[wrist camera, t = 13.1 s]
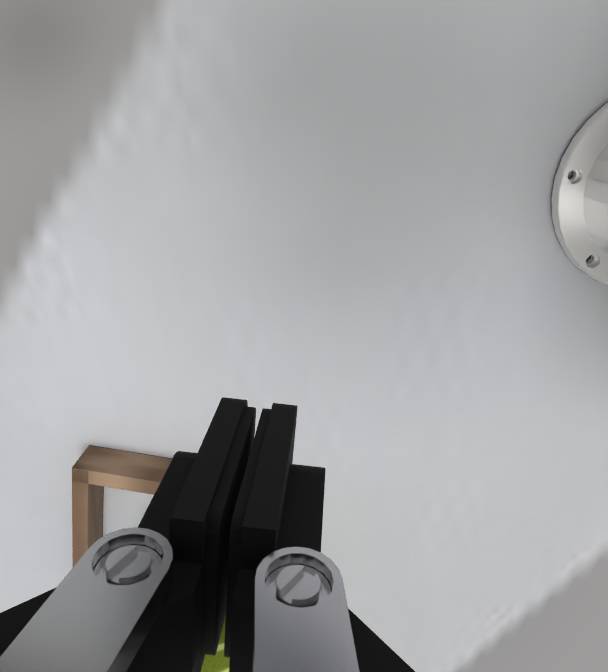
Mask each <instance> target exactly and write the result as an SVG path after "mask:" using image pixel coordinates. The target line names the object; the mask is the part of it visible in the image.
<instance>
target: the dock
mask: <svg viewBox="0 0 608 672" xmlns="http://www.w3.org/2000/svg"><path fill="white" fill-rule="evenodd" d="M171 461H172V459H169V458H163V457H157V456H151V455H145V454H139V453H133V452H127V451H121V450H115V449H108V448H102V447H96V446H90V445H89V446H88V448H87V449H86V450H85V452H84V453H83V454H82V455H81V457H80V458H79V459H78V461H77V462H76V463H75V465H74V466H73V467H72V525H73V567H74V566H75V565H76V563H77V562H78V561H79V560H80V558H81V557H82V556H83V555H84V554H85V552H86V551H87V550H88V549H89V548H90V547H91V546H92V545H93V544H94V543H95V542H96V541H97V540H98V539H100V538H102V537H103V488H104V486H105V487H111V488H117V489H123V490H129V491H135V492H141V493H147V494H153V495H154V494H155V492H156V490H157V488H158V486H159V484H160V482H161V480H162V479H163V477H164V475H165V473H166V471H167V469H168V467H169V465H170V463H171Z"/></svg>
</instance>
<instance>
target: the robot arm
mask: <svg viewBox="0 0 608 672" xmlns="http://www.w3.org/2000/svg"><path fill="white" fill-rule="evenodd" d="M570 171H573V176H572V178H570V179H568V178H567V177H568V174H569V172H570ZM552 219H553V224H554V228H555V232H556V236H557V238H558V240H559V242H560V244H561V246H562V248H563V250H564V252H565V253H566V254H567V256H568V257H569V258H570V259H571V261H572V262H573V263H574V264H575V265H576V266H577V267H578V268H580V269H581V270H582V271H583V272H585V273H586V274H587V275H589V276H590V277H592V278H594V279H595V280H597V281H599V282H600V283H603V284H605V285H608V103H606V104H605V105H604V106H603V107H602V108H600V109H599V110H598V111H597V112H596V113H595V114H594V115H593V116H592V117H591V118H589V119H588V120H587V122H586V123H585V124H584V125H583V127H582V128H581V129H580V130H579V131H578V133H577V134H576V135H575V136H574V138H573V139H572V141H571V143H570V145H569V146H568V148H567V150H566V152H565V153H564V155H563V157H562V159H561V162H560V165H559V168H558V170H557V173H556V176H555V180H554V186H553V192H552ZM590 255H591V258H590V260H589V261H586V259H587V258H588V256H590ZM296 417H297V406H295V405H286V404H277V403H273V405H272V409H263V410H262V413H261V416H260V420H259V423H258V427H257V431H256V434H255V418H256V408H254V407H248V404H247V400H241V399H232V398H222V399H221V401H220V403H219V406H218V408H217V410H216V413H215V415H214V417H213V419H212V422H211V424H210V426H209V429H208V431H207V433H206V435H205V438H204V440H203V442H202V445H201V447H200V449H199V452H198V453H190V452H181V451H178V452H176V453H175V455H174V457H173V459H172V461H171V463H170V465H169V467H168V469H167V471H166V473H165V475H164V477H163V479H162V480H161V482H160V484H159V486H158V488H157V490H156V492H155V494H154V496H153V498H152V500H151V502H150V504H149V506H148V508H147V510H146V512H145V514H144V516H143V518H142V520H141V522H140V524H139V526H138V528H128V529H121V530H118V531H115V532H112V533H109V534H107V535H105V536H104V537H102V538H100V539H98V540H97V541H96V542H95V543H94V544H93V545H92V546H91V547H90V548H89V549H88V550H87V551H86V552H85V554H84V555H83V556H82V557H81V558H80V560H79V561H78V562H77V563H76V565H75V566H74V567H73V568H72V569H71V571H70V572H69V573H68V574H67V576H66V577H65V578H64V579H63V580H62V582H61V583H60V584H59V585H58V587H56V588H54V589H52V590H50V591H48V592H45V593H43V594H41V595H39V596H37V597H35V598H32V599H30V600H28V601H26V602H24V603H21V604H19V605H17V606H15V607H13V608H11V609H8V610H6V611H4V612H2V613H0V672H201V669H202V665H203V661H204V657H205V654H206V655H214V656H215V655H216V652H217V648H218V644H219V640H220V636H221V631H222V627H223V623H224V619H225V615H226V619H225V641H224V657H230V662H229V672H415V671H414V670H413V669H412V668H411V667H410V666H409V665H407V664H406V663H405V662H404V661H403V660H402V659H401V658H400V657H399V656H398V655H397V654H396V653H395V652H394V651H393V650H392V649H391V648H389V647H388V646H387V645H386V644H385V643H384V642H383V641H382V640H381V639H380V638H379V637H378V636H377V635H376V634H375V633H374V632H373V631H372V630H370V629H369V628H368V627H367V626H366V625H365V624H364V623H363V622H362V621H361V620H360V619H359V618H358V617H357V616H356V615H355V614H354V613H352V612H351V611H350V610H349V609H348V606H347V601H346V595H345V590H344V584H343V579H342V576H341V574H340V571H339V569H338V567H337V566H336V565H335V564H334V562H333V561H332V560H331V559H329V558H328V557H327V556H325V555H324V554H322V553H321V536H322V518H323V501H324V483H325V468H321V467H312V466H304V465H295V464H292V460H293V449H294V438H295V428H296ZM254 434H255V438H254Z"/></svg>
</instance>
